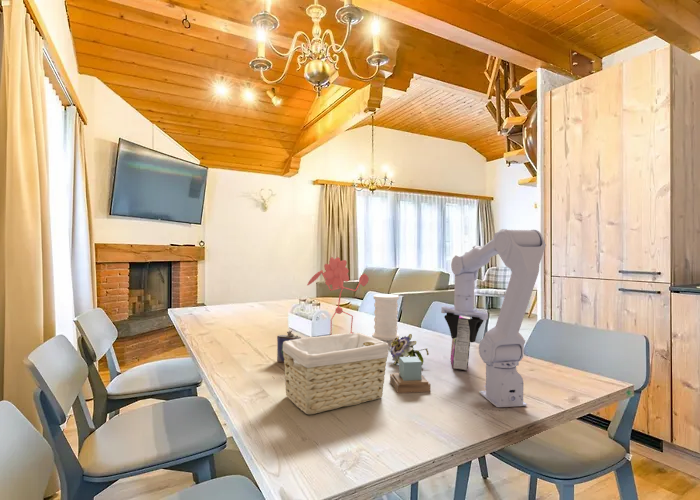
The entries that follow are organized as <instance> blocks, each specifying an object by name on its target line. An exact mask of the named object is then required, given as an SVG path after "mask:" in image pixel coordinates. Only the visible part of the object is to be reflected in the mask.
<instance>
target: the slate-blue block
mask: <svg viewBox="0 0 700 500" xmlns="http://www.w3.org/2000/svg"><path fill="white" fill-rule="evenodd" d="M422 365H423V364H422V362H421V361H420V360H419V358H418V356H416V357H410V356H408V357H405V356H404V357H399V366H398V373H399V375H400V376H401V378H402V379H403V380H404V381H409V380H422V376H423V373H422V370H423V369H422V367H423V366H422Z"/></svg>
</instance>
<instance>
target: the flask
mask: <svg viewBox="0 0 700 500" xmlns="http://www.w3.org/2000/svg"><path fill="white" fill-rule="evenodd" d="M292 332H293V330H289V331H286V334H278V335H277V337H276V340H277V343H276V344H277V345H276V346H277V350H276V357H277V358H276V361H277V363H280V364H284V360H285V359H284V357H283V353H284V352H283V342H284V341H289V340H295V339H300V338H302V337H301V336H298V334H297V335H295V334H294V333H292Z"/></svg>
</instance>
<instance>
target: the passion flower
mask: <svg viewBox="0 0 700 500" xmlns="http://www.w3.org/2000/svg"><path fill="white" fill-rule="evenodd" d="M412 334H413V333H409V334H408V336H407V335H404V336H402V337H399V338H395V339H394V340H392V342H391V344H390V345H391V347H390V348H388V352H390V355H391V357H392V359H391V361H394V362H393V365H395V366H396V365H398V364H399V357H417V358H418V359H419V360H420V361H421V362H422V365H423V364H424V358H423V356H422V355H423V354H422V353H421V352H420V351H426V355H427V356H429V355H430V353H429V350H428V348H424V349H419V350H415V349H414V346H415V345H417V341H416V340H413V341H411V340H412V338H413V335H412Z"/></svg>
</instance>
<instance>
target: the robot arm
mask: <svg viewBox="0 0 700 500" xmlns="http://www.w3.org/2000/svg"><path fill="white" fill-rule="evenodd" d="M546 246H547V244H546V241H545V240H544V237H543V235H542V233H541V232H540V231H539V230H538V229H530V230H529V229H507V228H502V229H500V230H498V231H497V232H494V235H493V238H492V239H490V241H488V242H487V243H486V244H484V245H483V246H482V245H473V246H472V248H471V250H469V251H466V252H464V254H463V255H458V254H457V255H454V256H453V258H452V259H451V264H450V266H451V267H450V268H451V271H452V273H453V275H454V295H453V297H454V301H453V302H454V305H453V306H447V305H445V306H441V309H440V310H441V313H442V314H445V315H444V316H443V317H444V319H445V322H446V324H447V326H448V329H449V333H450V337H451V339H452V338H457V327H458V320H459V316H466V317H471V319H468V323H469V329H470V344H471V343H474V342H476V339H477V335H478V333H479V330H480V328H481V326H482V324H483V323H484V321H487V320H488V319H489V313H488V312H484V311H482V310H481V311H480V310H477V309H475V307H474V305H475V281H476V280H477V274H478V272H479V270H480V268H483V267H484V266H486V265H488V264H489V263H490V261H491V258H492V257H495V256H497V255H499V257H500V260H502V262H503V264H504V265H505V267H506V268H509V269H510V270H511V274H510V279H509V280H508V281H509V282H508V284H507V286H506V291H505V294H504V298H503V301H502V304H501V308H500V311H499V313H498V316H497V321H496V323H495V326H493V327H492V328H491V329H488V330H487V331H486V332H485V333H484V336H483V338H482V339H481V340H480V342H479V345H478V354H479V357H480V359H481V360H482V362H483V363H484V364H485V390H480V391H479V394H480V395H481V396H482V397H484V398H485V399H486V400H487V401H489V402H490V403H491V404H492V405H493V406H495V408H509V407H511V408H512V407H513V408H514V407H526V406H527V403H526V402H525V401H524V378H523V376H522V375H521V374H520V373H519V372H518V370H517V366H519V365H520V364H519V362H521V361H522V360H523V358H524V356H525V355H524V354H525V347H524V346H525V344H526V340H525V338H524V337H523V336H522V334H521V333H520V330H521V326H522V324H523V320H524V318H525V314H526V311H527V308H528V305H529V303H530V299H531V297H532V294H533V291H534V287H535V285H536V282H537V279H538V276H539V271H540V264H541V261H542V258H543V255H544V252H545V249H546ZM466 314H467V315H466Z"/></svg>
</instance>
